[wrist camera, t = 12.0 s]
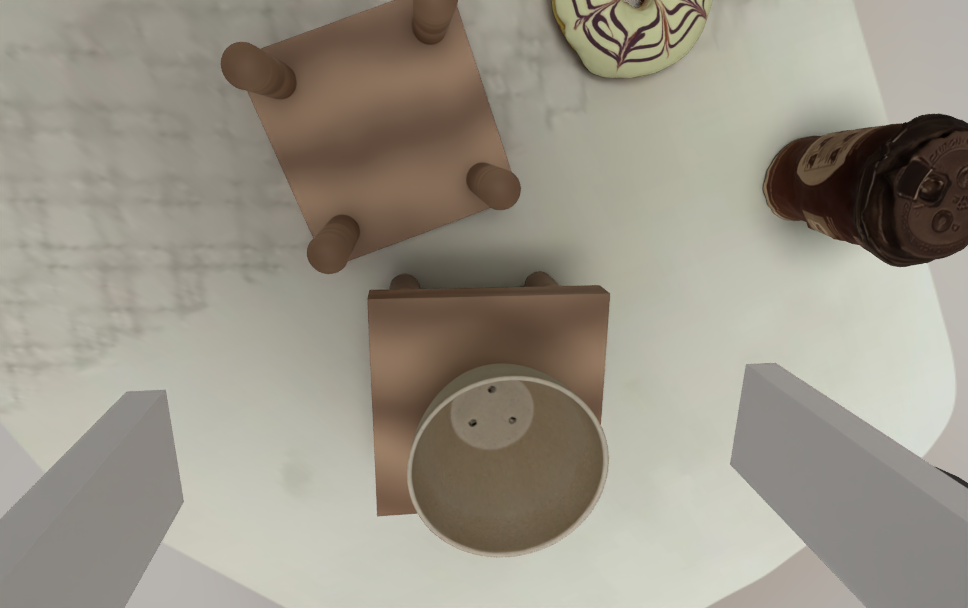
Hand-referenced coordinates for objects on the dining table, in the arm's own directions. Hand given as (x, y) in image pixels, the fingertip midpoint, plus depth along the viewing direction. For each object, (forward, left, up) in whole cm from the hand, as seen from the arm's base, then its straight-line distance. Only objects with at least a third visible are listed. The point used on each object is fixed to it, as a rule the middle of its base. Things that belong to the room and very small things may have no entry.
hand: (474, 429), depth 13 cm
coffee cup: (-4, +28, -30) cm, 42 cm away
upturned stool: (-7, -3, -30) cm, 31 cm away
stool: (+9, +3, -30) cm, 32 cm away
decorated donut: (-16, +13, -31) cm, 37 cm away
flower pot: (+9, +3, -20) cm, 23 cm away
